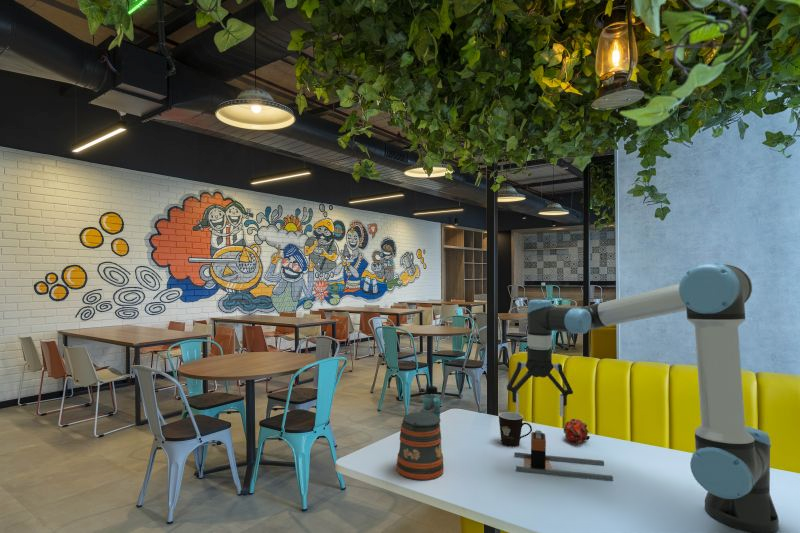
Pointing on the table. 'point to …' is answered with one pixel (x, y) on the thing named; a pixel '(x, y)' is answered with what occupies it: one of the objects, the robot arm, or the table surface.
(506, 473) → the table surface
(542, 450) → the battery
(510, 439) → the coffee mug
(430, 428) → the beer stein
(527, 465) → the rail
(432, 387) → the beverage bottle
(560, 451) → the table surface
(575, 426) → the dragon fruit
